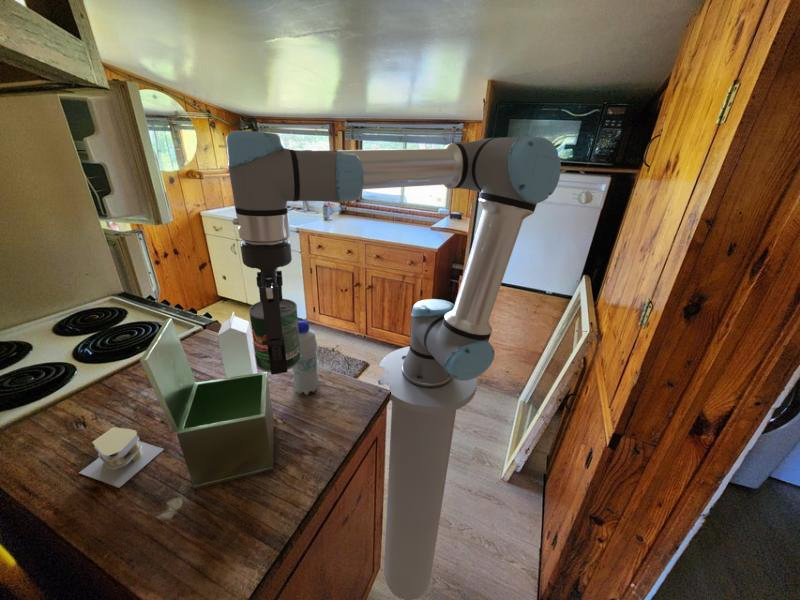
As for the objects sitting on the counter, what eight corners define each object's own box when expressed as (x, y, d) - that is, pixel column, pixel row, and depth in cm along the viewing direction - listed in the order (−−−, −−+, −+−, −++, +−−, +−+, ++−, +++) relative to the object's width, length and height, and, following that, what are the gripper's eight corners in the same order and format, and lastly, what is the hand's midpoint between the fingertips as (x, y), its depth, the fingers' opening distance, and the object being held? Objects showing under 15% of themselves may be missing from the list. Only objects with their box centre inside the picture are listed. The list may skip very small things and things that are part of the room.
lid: (171, 317, 59) (166, 318, 59) (145, 359, 47) (139, 360, 47) (195, 380, 65) (191, 381, 65) (178, 430, 53) (173, 432, 53)
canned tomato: (249, 371, 57) (240, 316, 53) (265, 347, 65) (259, 297, 60) (294, 373, 58) (289, 318, 53) (305, 349, 65) (302, 299, 60)
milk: (231, 402, 80) (213, 323, 71) (235, 386, 85) (219, 311, 76) (257, 398, 82) (243, 321, 73) (259, 382, 87) (247, 309, 78)
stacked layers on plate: (78, 473, 61) (68, 452, 59) (126, 437, 69) (119, 417, 67) (119, 488, 59) (109, 466, 57) (164, 449, 67) (157, 429, 64)
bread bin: (273, 420, 75) (266, 371, 70) (273, 470, 64) (264, 416, 58) (207, 433, 71) (194, 382, 65) (194, 489, 59) (176, 433, 54)
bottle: (306, 377, 90) (301, 313, 82) (325, 386, 87) (321, 320, 79) (287, 391, 84) (280, 323, 76) (306, 401, 81) (300, 331, 73)
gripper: (244, 226, 59) (259, 334, 69) (232, 259, 42) (254, 398, 51) (287, 226, 62) (296, 330, 71) (293, 256, 44) (304, 390, 53)
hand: (279, 358), depth 61 cm, fingers closed on canned tomato, 8 cm apart
